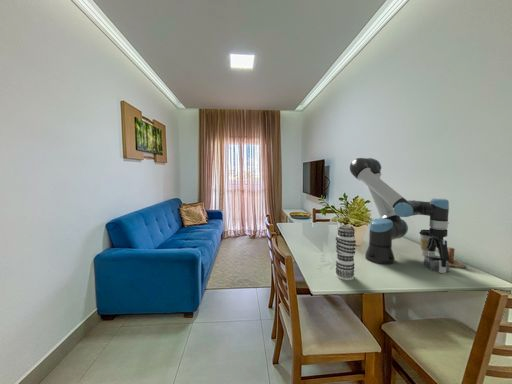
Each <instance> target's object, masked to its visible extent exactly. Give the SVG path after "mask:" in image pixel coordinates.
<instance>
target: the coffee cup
mask: <svg viewBox="0 0 512 384" xmlns="http://www.w3.org/2000/svg"><path fill="white" fill-rule="evenodd" d="M418 234H419V241H420V242H419V244H420V251H421V255H422V256H423V257H424V256H428V249H427V244H428V241H429V238H430V234H429V229H420V231H419V232H418ZM436 249H437V247H436V248H435V251H434V252H435V253H436Z"/></svg>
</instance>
